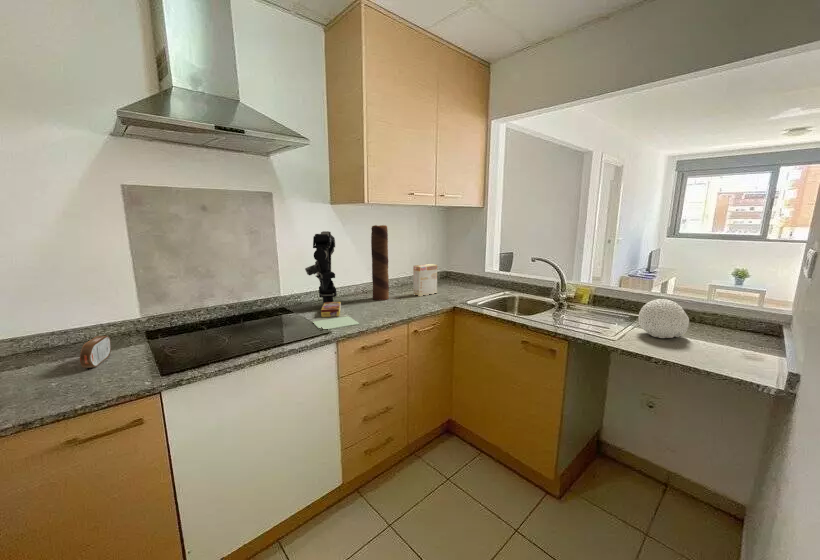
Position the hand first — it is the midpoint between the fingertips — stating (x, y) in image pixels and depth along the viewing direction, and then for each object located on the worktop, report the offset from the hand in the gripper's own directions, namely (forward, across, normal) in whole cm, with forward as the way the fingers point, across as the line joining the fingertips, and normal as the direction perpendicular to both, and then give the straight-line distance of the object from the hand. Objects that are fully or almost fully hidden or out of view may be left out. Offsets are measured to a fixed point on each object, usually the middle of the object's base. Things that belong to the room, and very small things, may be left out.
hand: (324, 290), depth 165 cm
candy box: (+11, +5, +1) cm, 12 cm away
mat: (+13, +16, 0) cm, 21 cm away
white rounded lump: (+13, +102, +113) cm, 153 cm away
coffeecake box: (+13, -14, +71) cm, 74 cm away
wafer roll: (+13, -17, +40) cm, 45 cm away
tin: (+13, +17, -83) cm, 85 cm away
